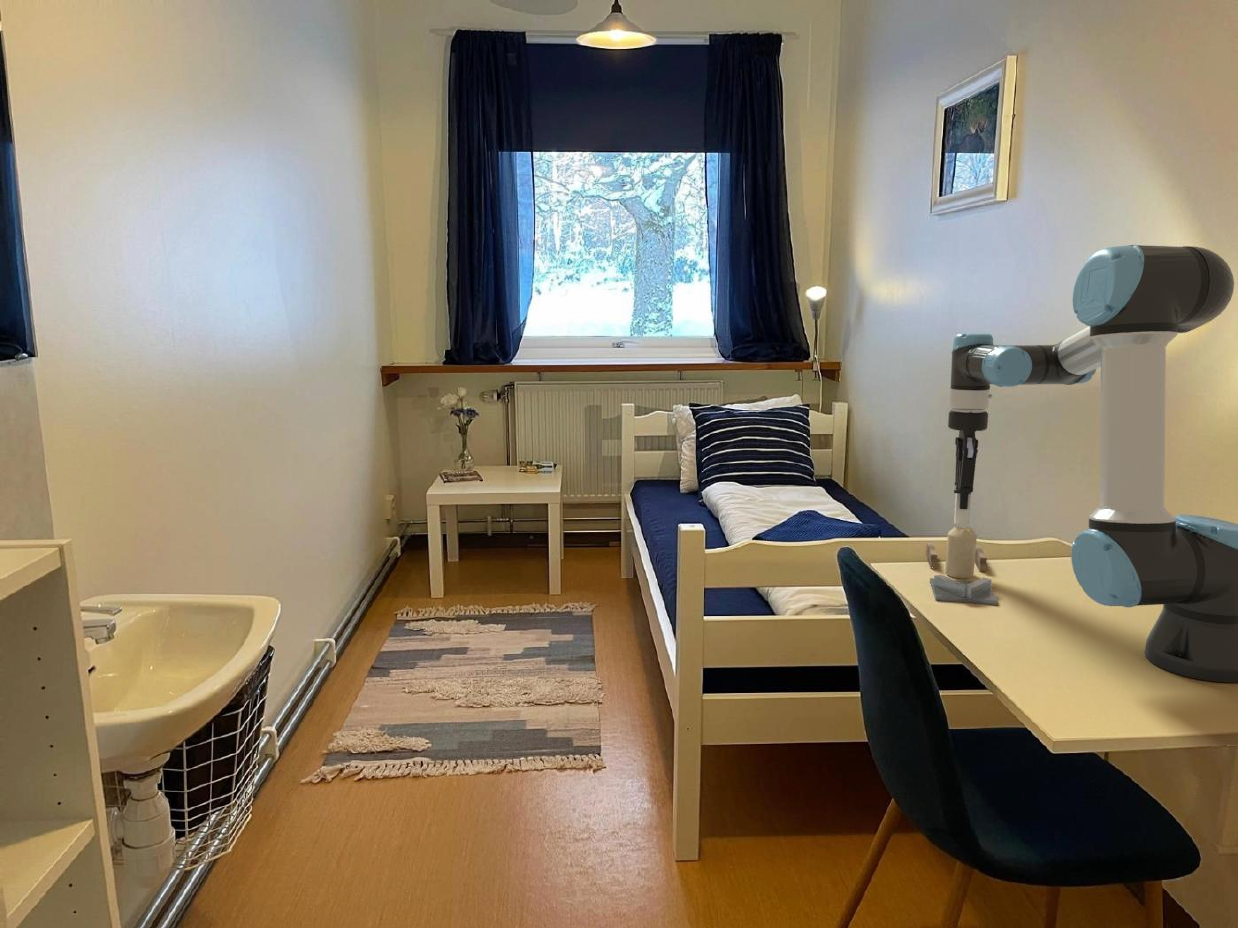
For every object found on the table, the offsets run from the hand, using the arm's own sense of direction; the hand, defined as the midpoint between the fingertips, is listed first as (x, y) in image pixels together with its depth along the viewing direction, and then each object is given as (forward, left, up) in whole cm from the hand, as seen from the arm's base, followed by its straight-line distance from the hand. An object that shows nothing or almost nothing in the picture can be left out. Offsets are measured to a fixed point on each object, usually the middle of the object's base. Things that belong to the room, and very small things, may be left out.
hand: (961, 523), depth 195 cm
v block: (-17, +1, -10) cm, 20 cm away
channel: (+4, 0, -10) cm, 10 cm away
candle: (-4, 0, -10) cm, 11 cm away
